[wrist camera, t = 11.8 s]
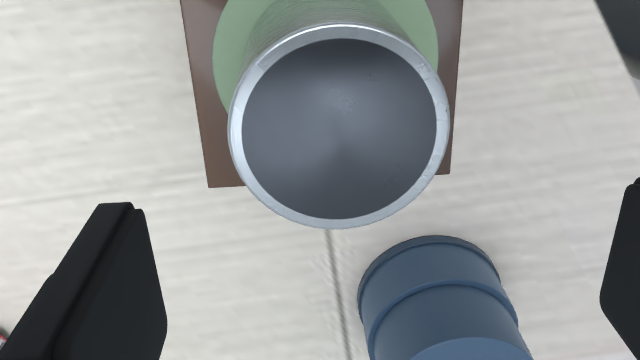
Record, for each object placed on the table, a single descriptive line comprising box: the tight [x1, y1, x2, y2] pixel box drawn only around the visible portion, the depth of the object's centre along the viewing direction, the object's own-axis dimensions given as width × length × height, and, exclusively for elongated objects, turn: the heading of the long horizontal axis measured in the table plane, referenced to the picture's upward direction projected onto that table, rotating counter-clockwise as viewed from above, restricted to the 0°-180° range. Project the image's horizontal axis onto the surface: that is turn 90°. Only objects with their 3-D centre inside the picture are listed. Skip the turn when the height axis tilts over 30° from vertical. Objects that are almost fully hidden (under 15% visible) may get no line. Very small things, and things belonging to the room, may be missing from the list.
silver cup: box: [227, 0, 450, 229], centre depth 19 cm, size 6×6×7 cm
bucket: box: [357, 236, 534, 360], centre depth 39 cm, size 11×11×10 cm
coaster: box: [212, 0, 438, 114], centre depth 22 cm, size 9×9×1 cm
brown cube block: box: [180, 0, 463, 188], centre depth 28 cm, size 11×11×12 cm
